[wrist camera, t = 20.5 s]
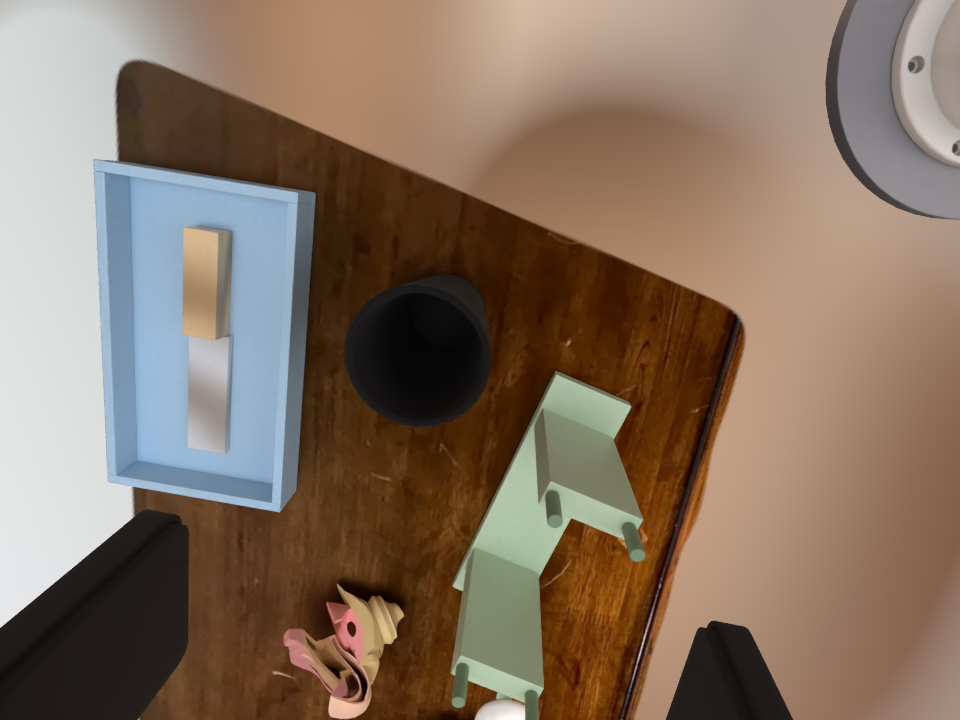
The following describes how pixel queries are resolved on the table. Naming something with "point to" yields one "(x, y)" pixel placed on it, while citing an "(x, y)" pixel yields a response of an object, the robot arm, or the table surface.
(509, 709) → the milkshake
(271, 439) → the tray
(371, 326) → the cup
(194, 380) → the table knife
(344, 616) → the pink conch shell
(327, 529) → the table surface
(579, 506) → the rack
